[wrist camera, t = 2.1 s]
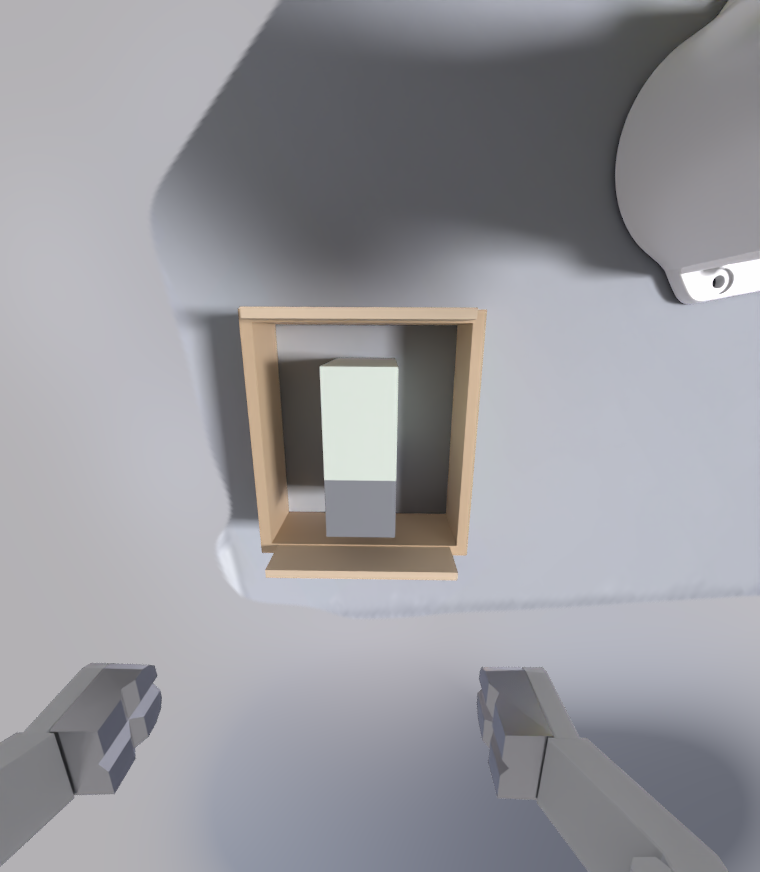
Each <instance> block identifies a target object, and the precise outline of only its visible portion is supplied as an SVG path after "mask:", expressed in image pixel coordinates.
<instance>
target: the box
mask: <svg viewBox="0 0 760 872" xmlns="http://www.w3.org/2000/svg"><path fill="white" fill-rule="evenodd" d="M320 390H321V414H322V438H323V463H324V487H325V511H326V536H327V537H391V538H395V518H396V465H397V413H398V365H397V362H396V360H395V358H336V359H334V360H332V361H330V362H328V363H326V364H324V365H322V366H320Z"/></svg>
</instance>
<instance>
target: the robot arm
mask: <svg viewBox="0 0 760 872" xmlns="http://www.w3.org/2000/svg"><path fill="white" fill-rule="evenodd" d="M615 184H616V194H617V200H618V205H619V209H620V212H621V215H622V218H623V221H624V223H625V225H626V227H627V229H628V231H629V233H630V234H631V236H632V237H633V239H634V240H635V242H636V243H637V244H638V245H639V246H640V247H641V248H642V249H643V250H644V251H645V252H646V253H647V254H648V255H649V256H650V257H652V258H653V259H654V260H655V261H656V262H658V263H659V264H660V266H661V267H662V268H663V269H664V270H665V272H666V275H667V278H668V280H669V283H670V285H671V288H672V290H673V292H674V294H675V296H676V297H677V299H678V300H679V301H680V302H682V303H684V304H689V305H690V304H697V303H702V302H708V301H713V300H718V299H723V298H728V297H734V296H739V295H744V294H749V293H754V292H759V291H760V0H728V2H727V3H726V4H725V6H724V7H723V9H722V10H721V12H720V13H719V15H718V16H717V17H716V18H715V19H713V20H712V21H711V22H710V23H709V24H707V25H706V26H705V27H703V28H702V29H701V30H699V31H698V32H697V33H695V34H694V35H693V36H691V37H690V38H688V39H687V40H686V41H684V42H683V43H682V44H680V45H679V46H678V47H677V48H676V49H675V50H673V51H672V52H671V53H670V54H669V55H668V56H667V57H666V58H665V59H664V60H663V61H662V62H661V64H660V65H659V66H658V67H657V68H656V69H655V71H654V72H653V73H652V74H651V76H650V77H649V78H648V80H647V81H646V83H645V84H644V86H643V87H642V89H641V91H640V92H639V94H638V96H637V97H636V99H635V101H634V103H633V105H632V107H631V110H630V112H629V114H628V116H627V119H626V122H625V124H624V127H623V130H622V134H621V137H620V141H619V146H618V151H617V158H616V168H615ZM714 278H715V280H716V284H715V286H714V287H713V285H712V282H713V279H714ZM156 677H157V673H156V669H155V666H154V665H140V664H115V663H111V664H109V663H107V664H106V663H90V664H88V665H87V666H85V667H83V668H82V669H81V670H80V671H79V672H78V673H77V674H76V676H75V677H74V678H73V679H72V680H71V681H70V682H69V683H68V684H67V685H66V686H65V687H64V689H63V690H62V691H61V692H60V693H59V694H58V695H57V696H56V697H55V699H53V700H52V702H51V703H50V704H49V705H48V706H47V707H46V708H45V709H44V710H43V711H42V712H41V713H40V715H39V716H38V717H37V718H36V719H35V720H34V721H33V722H32V723H31V724H30V725H29V727H28V728H27V729H26V730H25V731H24V732H22V733H15V734H13V735H12V736H10V737H8V738H7V739H5V740H4V741H2V742H0V867H1V866H2V865H3V864H4V863H5V862H6V861H7V860H8V859H9V858H10V857H11V856H12V855H14V854H15V853H16V852H17V851H18V850H19V849H20V848H21V847H22V846H23V845H24V844H25V843H26V842H28V841H29V840H30V839H31V838H32V837H33V836H34V835H35V834H36V833H37V832H38V831H39V830H40V829H41V828H43V827H44V826H45V825H46V824H47V823H48V822H49V821H50V820H51V819H52V818H53V817H54V816H55V815H57V814H58V813H59V812H60V811H61V810H62V809H63V808H64V807H65V806H66V805H67V804H68V803H69V802H71V800H73V799H74V795H94V794H95V795H97V794H115V792H116V791H117V789H118V787H119V786H120V784H121V782H122V781H123V779H124V777H125V776H126V774H127V772H128V770H129V769H130V767H131V765H132V764H133V762H134V760H135V748H136V747H137V746H138V745H139V744H140V743H141V742H143V741H144V740H145V739H146V738H148V737H149V735H150V733H151V731H152V729H153V728H154V726H155V724H156V722H157V719H158V716H159V713H160V710H161V701H162V696H161V691H160V689H159V688H157V686H155V685H154V684H153V682H154V681H155V679H156ZM479 681H480V684H481V688H482V689H481V690H480V691H479V692H478V694H477V714H478V721H479V727H480V732H481V736H482V740H483V741H484V743H485V744H486V745H487V746H488V747H489V748H490V749H489V759H488V764H489V768H490V772H491V775H492V780H493V783H494V787H495V791H496V795H497V798H506V799H527V800H537V804H538V805H539V806H540V808H541V809H542V810H543V811H544V813H545V814H546V815H547V817H548V818H549V820H550V821H551V822H552V824H553V825H554V826H555V828H556V829H557V830H558V832H559V833H560V834H561V836H562V837H563V838H564V840H565V841H566V842H567V844H568V845H569V846H570V848H571V849H572V851H573V852H574V853H575V855H576V856H577V857H578V858H579V860H580V861H581V862H582V864H583V865H584V867H585V868H586V869H587V871H588V872H728V870H727V869H726V867H725V866H724V864H723V863H722V861H721V860H720V858H719V856H718V855H717V854H715V853H714V852H713V851H712V850H711V849H710V848H709V847H708V846H707V845H706V844H704V843H703V842H702V841H701V840H700V839H699V838H698V837H697V836H695V835H694V834H693V833H692V832H691V831H690V830H689V829H688V828H687V827H685V826H684V825H683V824H682V823H681V822H680V821H679V820H678V819H676V818H675V817H674V816H673V815H672V814H671V813H670V812H669V811H667V810H666V809H665V808H664V807H663V806H662V805H661V804H660V803H658V802H657V801H656V800H655V799H654V798H653V797H652V796H651V795H649V794H648V793H647V792H646V791H645V790H644V789H643V788H642V787H641V786H640V785H638V784H637V783H636V782H635V781H634V780H633V779H632V778H630V777H629V776H628V775H627V774H626V773H625V772H624V771H623V770H622V769H621V768H619V767H618V766H617V765H616V764H615V763H614V762H613V761H611V759H609V758H608V757H607V756H606V755H605V754H604V753H603V752H602V751H600V750H599V749H598V748H597V747H596V746H595V745H594V744H593V743H592V742H590V741H589V740H588V739H587V738H580V737H579V735H578V733H577V731H576V729H575V727H574V725H573V723H572V721H571V719H570V717H569V715H568V713H567V711H566V709H565V707H564V705H563V703H562V701H561V699H560V697H559V695H558V693H557V691H556V689H555V687H554V685H553V683H552V681H551V679H550V677H549V675H548V673H547V672H546V670H545V669H544V668H542V667H522V668H521V667H482V668H481V670H480V675H479Z"/></svg>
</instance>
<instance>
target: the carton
mask: <svg viewBox="0 0 760 872" xmlns="http://www.w3.org/2000/svg"><path fill="white" fill-rule="evenodd" d="M486 315H487V310H478V308H436V307H240V309H238V316H239V326H240V336H241V346H242V356H243V366H244V376H245V386H246V397H247V407H248V417H249V427H250V437H251V447H252V457H253V467H254V477H255V487H256V497H257V508H258V518H259V528H260V538H261V548H262V553H274V554H273V556H272V558H271V560H270V562H269V564H268V566H267V568H266V570H265V572H266V578H329V579H400V580H457V576H458V572H457V569H456V565H455V562H454V559H453V555H467V544H468V532H469V520H470V508H471V496H472V484H473V472H474V460H475V448H476V436H477V424H478V412H479V400H480V388H481V375H482V363H483V351H484V339H485V327H486ZM275 324H305V325H458V326H457V342H456V358H455V374H454V390H453V406H452V422H451V438H450V454H449V470H448V486H447V502H446V514H424V513H396V518H395V538H391V537H327V536H326V512H289V507H288V493H287V479H286V465H285V452H284V438H283V424H282V410H281V396H280V383H279V369H278V355H277V341H276V328H275Z"/></svg>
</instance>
